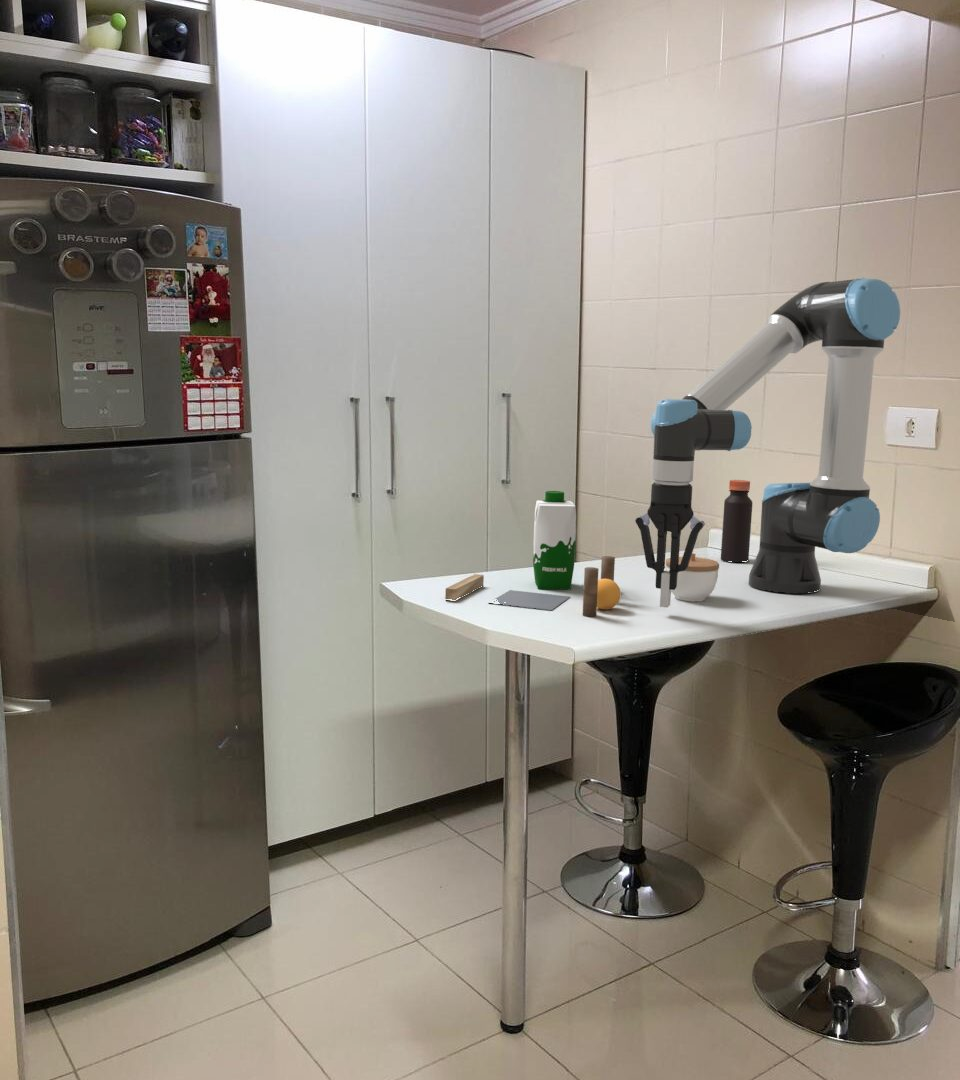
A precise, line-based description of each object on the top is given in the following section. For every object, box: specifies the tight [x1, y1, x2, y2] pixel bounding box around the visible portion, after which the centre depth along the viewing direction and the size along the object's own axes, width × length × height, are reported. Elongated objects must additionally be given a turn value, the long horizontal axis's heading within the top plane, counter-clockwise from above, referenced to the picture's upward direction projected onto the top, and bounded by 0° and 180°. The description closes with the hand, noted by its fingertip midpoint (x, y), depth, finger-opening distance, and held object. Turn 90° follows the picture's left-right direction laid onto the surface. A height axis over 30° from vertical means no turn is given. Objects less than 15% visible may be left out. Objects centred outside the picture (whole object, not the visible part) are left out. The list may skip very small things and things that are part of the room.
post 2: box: [600, 555, 616, 582], centre depth 204 cm, size 3×3×9 cm
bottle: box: [720, 479, 753, 562], centre depth 251 cm, size 7×7×20 cm
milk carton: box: [532, 490, 577, 590], centre depth 216 cm, size 9×9×20 cm
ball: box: [597, 578, 622, 610], centre depth 198 cm, size 6×6×6 cm
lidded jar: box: [665, 552, 720, 603], centre depth 209 cm, size 11×11×9 cm
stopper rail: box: [444, 573, 485, 600], centre depth 208 cm, size 2×16×2 cm, turn 159°
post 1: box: [582, 566, 600, 618], centre depth 192 cm, size 3×3×9 cm
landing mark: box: [494, 589, 571, 611], centre depth 204 cm, size 13×13×1 cm
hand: (665, 605), depth 194 cm, fingers closed
